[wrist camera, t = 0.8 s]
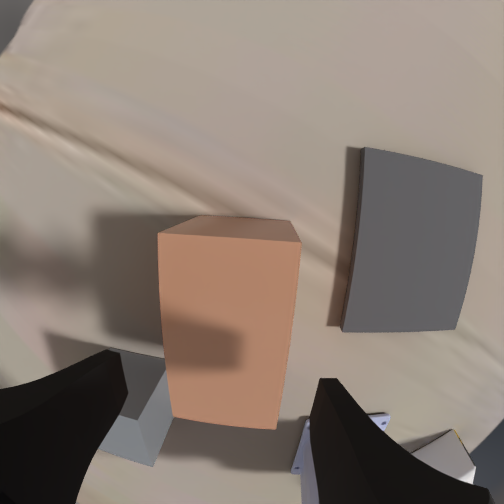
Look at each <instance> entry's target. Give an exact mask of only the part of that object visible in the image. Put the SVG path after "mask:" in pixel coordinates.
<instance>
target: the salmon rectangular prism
mask: <svg viewBox="0 0 504 504" xmlns="http://www.w3.org/2000/svg"><path fill="white" fill-rule="evenodd" d="M301 246H302V242H301V240H300V238H299V236H298V235H297V233H296V231H295V229H294V227H293V225H292V223H291V221H284V220H271V219H256V218H241V217H224V216H205V215H200V216H197V217H195V218H193V219H190V220H188V221H185V222H183V223H180V224H178V225H175V226H173V227H171V228H168V229H166V230H163V231H161V232H159V233H158V272H159V294H160V311H161V324H162V336H163V346H164V356H165V364H166V373H167V380H168V388H169V395H170V401H171V408H172V414H173V417H178V418H183V419H188V420H194V421H200V422H206V423H213V424H220V425H228V426H237V427H247V428H259V429H275V430H276V427H277V421H278V416H279V410H280V404H281V399H282V393H283V386H284V380H285V374H286V367H287V361H288V354H289V347H290V340H291V333H292V325H293V317H294V309H295V301H296V293H297V284H298V275H299V266H300V256H301Z"/></svg>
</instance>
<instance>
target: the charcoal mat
mask: <svg viewBox="0 0 504 504" xmlns="http://www.w3.org/2000/svg"><path fill="white" fill-rule="evenodd" d="M482 178H483V175H480V174H477V173H473V172H470V171H467V170H464V169H460V168H457V167H453V166H450V165H446V164H442V163H438V162H434V161H430V160H426V159H422V158H418V157H414V156H409V155H404V154H400V153H395V152H390V151H385V150H379V149H374V148H368V147H364V148H362V149H361V164H360V181H359V195H358V206H357V217H356V226H355V235H354V244H353V251H352V259H351V266H350V273H349V279H348V285H347V291H346V297H345V303H344V308H343V313H342V319H341V324H340V328H341V330H342V332H419V331H439V330H455V328H456V325H457V322H458V319H459V315H460V312H461V308H462V305H463V301H464V298H465V294H466V290H467V286H468V282H469V277H470V273H471V268H472V263H473V258H474V253H475V247H476V241H477V234H478V227H479V218H480V209H481V196H482Z"/></svg>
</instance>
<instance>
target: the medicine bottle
mask: <svg viewBox="0 0 504 504" xmlns="http://www.w3.org/2000/svg"><path fill="white" fill-rule="evenodd" d="M411 454H412V455H413V456H415V457H416V458H418V459H419V460H421V461H423V462H424V463H426V464H428V465H429V466H431V467H433V468H434V469H436V470H438V471H440V472H442V473H444V474H447V475H449V476H451V477H453V478H456V479H458V480H461V481H464V482H467V483H470V484H473V478H474V474H475V469H476V466H475V464H474V462H473V461H472V459H471V457H470V455H469V453H468V452H467V450H466V448H465V446H464V445H463V443H462V441H461V440H460V438H459V436H458V435H457V433H456V431H455V430H451V431H449V432H448V433H446V434H444V435H443V436H441V437H440V438H438V439H436V440H435V441H433V442H431V443H429V444H428V445H426V446H424V447H422V448H421V449H419V450H417V451H415V452H413V453H411Z"/></svg>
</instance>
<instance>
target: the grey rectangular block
mask: <svg viewBox="0 0 504 504" xmlns="http://www.w3.org/2000/svg"><path fill="white" fill-rule="evenodd" d="M109 350H111V351H114V352H118V353H120V356H121V361H122V366H123V371H124V375H125V380H126V384H127V389H128V396H127V398H126V401H125V403H124V405H123V408H122V410H121V412H120V414H119V416H118V417H117V419H116V421H115V422H114V424H113V426H112V427H111V429H110V430H109V432H108V433H107V435H106V437H105V438H104V440H103V441H102V443H101V445H100V446H99V448H98V449H100V450H103V451H105V452H108V453H111V454H113V455H116V456H119V457H122V458H125V459H128V460H131V461H134V462H137V463H141V464H144V465H147V466H151V467H153V466H154V463H155V461H156V459H157V456H158V454H159V451H160V449H161V446H162V444H163V442H164V439H165V437H166V435H167V432H168V430H169V427H170V425H171V423H172V420H173V418H174V417H173V414H172V408H171V401H170V395H169V388H168V380H167V373H166V364H165V359H162V358H157V357H152V356H147V355H142V354H137V353H132V352H128V351H123V350H119V349H115V348H110V349H109Z"/></svg>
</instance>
